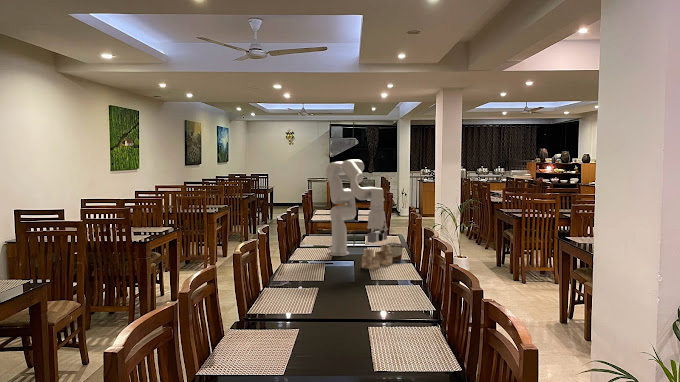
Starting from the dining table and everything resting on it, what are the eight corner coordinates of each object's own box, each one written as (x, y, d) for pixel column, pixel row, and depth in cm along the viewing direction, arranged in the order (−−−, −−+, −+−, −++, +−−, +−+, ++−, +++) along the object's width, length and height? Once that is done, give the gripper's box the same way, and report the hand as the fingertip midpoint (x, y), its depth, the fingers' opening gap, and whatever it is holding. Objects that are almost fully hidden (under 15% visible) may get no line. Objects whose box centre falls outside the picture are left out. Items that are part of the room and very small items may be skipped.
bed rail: (367, 242, 290) (367, 233, 289) (381, 238, 300) (381, 230, 300) (373, 242, 287) (373, 234, 287) (386, 239, 298) (386, 230, 298)
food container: (403, 258, 313) (403, 242, 312) (403, 261, 307) (403, 244, 306) (383, 258, 314) (383, 242, 313) (383, 260, 308) (383, 244, 307)
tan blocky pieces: (361, 267, 290) (361, 248, 289) (380, 261, 305) (380, 243, 304) (374, 269, 285) (373, 250, 284) (392, 263, 300) (392, 245, 299)
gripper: (361, 208, 295) (361, 240, 296) (385, 210, 284) (385, 242, 286) (369, 207, 300) (369, 238, 302) (392, 209, 290) (393, 240, 291)
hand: (377, 240), depth 294 cm, fingers closed on bed rail, 4 cm apart
